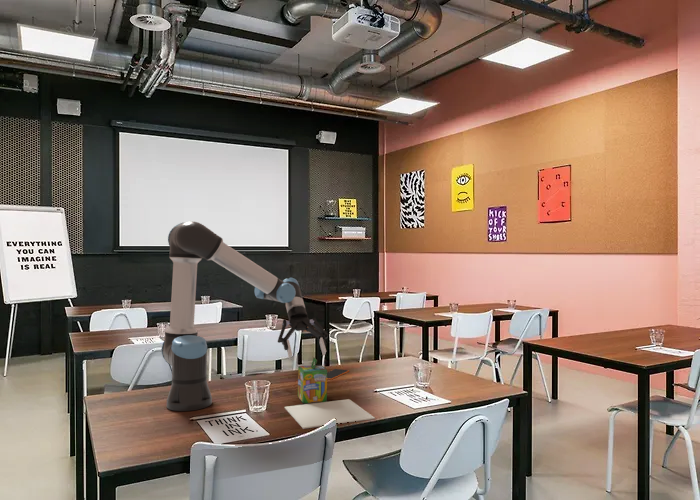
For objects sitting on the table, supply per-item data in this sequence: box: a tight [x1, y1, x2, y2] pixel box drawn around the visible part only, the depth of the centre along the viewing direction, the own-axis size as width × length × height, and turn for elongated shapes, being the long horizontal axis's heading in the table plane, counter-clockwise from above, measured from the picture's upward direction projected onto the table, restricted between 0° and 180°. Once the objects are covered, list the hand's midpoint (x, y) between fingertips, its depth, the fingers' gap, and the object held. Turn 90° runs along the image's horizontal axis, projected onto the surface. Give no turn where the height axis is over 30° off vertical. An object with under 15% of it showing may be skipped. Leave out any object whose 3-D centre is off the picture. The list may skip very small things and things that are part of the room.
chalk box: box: [297, 357, 328, 405], centre depth 184 cm, size 9×9×15 cm
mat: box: [284, 398, 376, 430], centre depth 168 cm, size 24×22×1 cm
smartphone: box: [327, 368, 350, 381], centre depth 221 cm, size 8×17×1 cm, turn 153°
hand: (307, 354), depth 192 cm, fingers open, 13 cm apart
